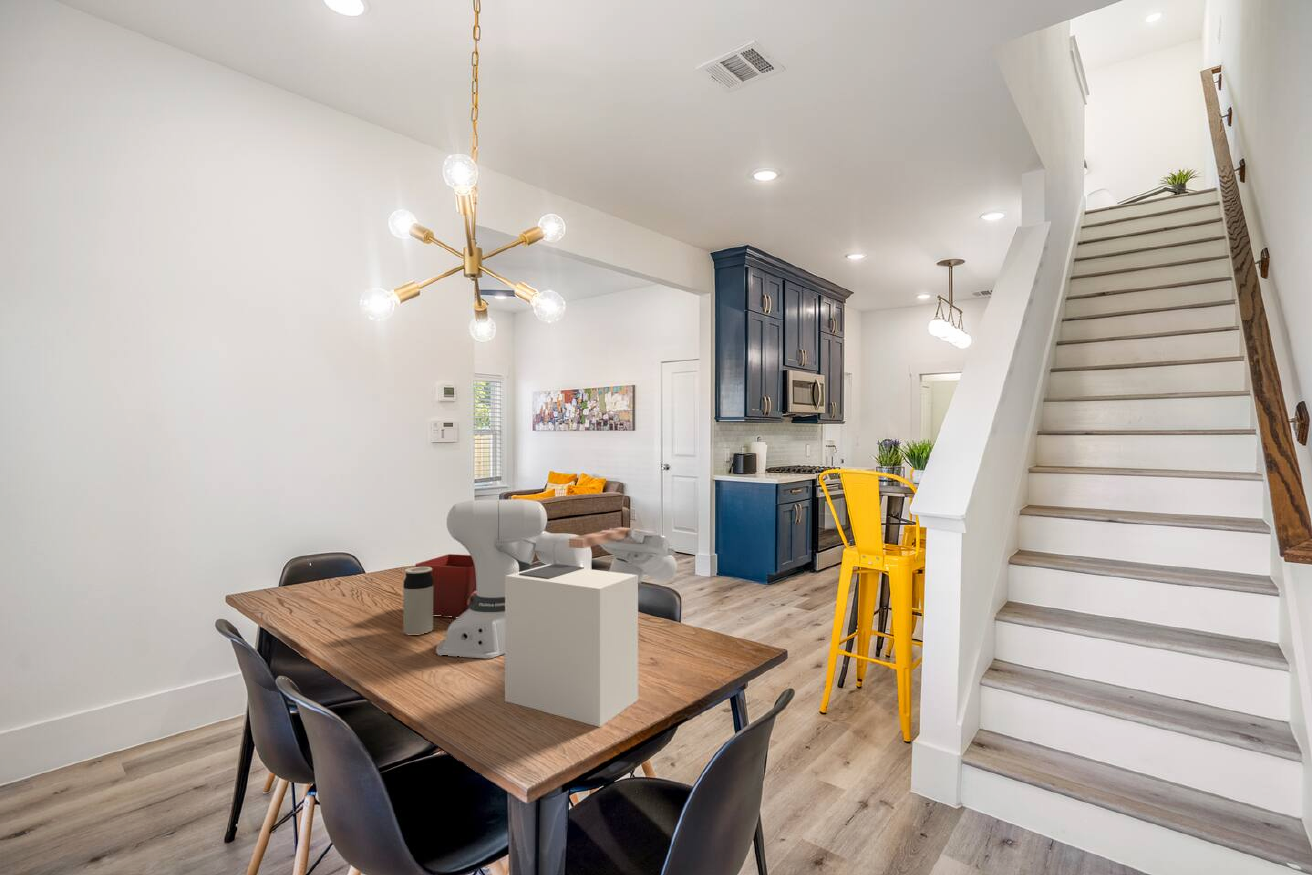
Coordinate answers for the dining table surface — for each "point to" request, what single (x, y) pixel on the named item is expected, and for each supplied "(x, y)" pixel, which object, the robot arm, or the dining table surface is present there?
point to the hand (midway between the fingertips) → (620, 531)
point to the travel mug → (418, 600)
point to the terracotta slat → (598, 537)
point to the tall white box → (572, 641)
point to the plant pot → (451, 583)
